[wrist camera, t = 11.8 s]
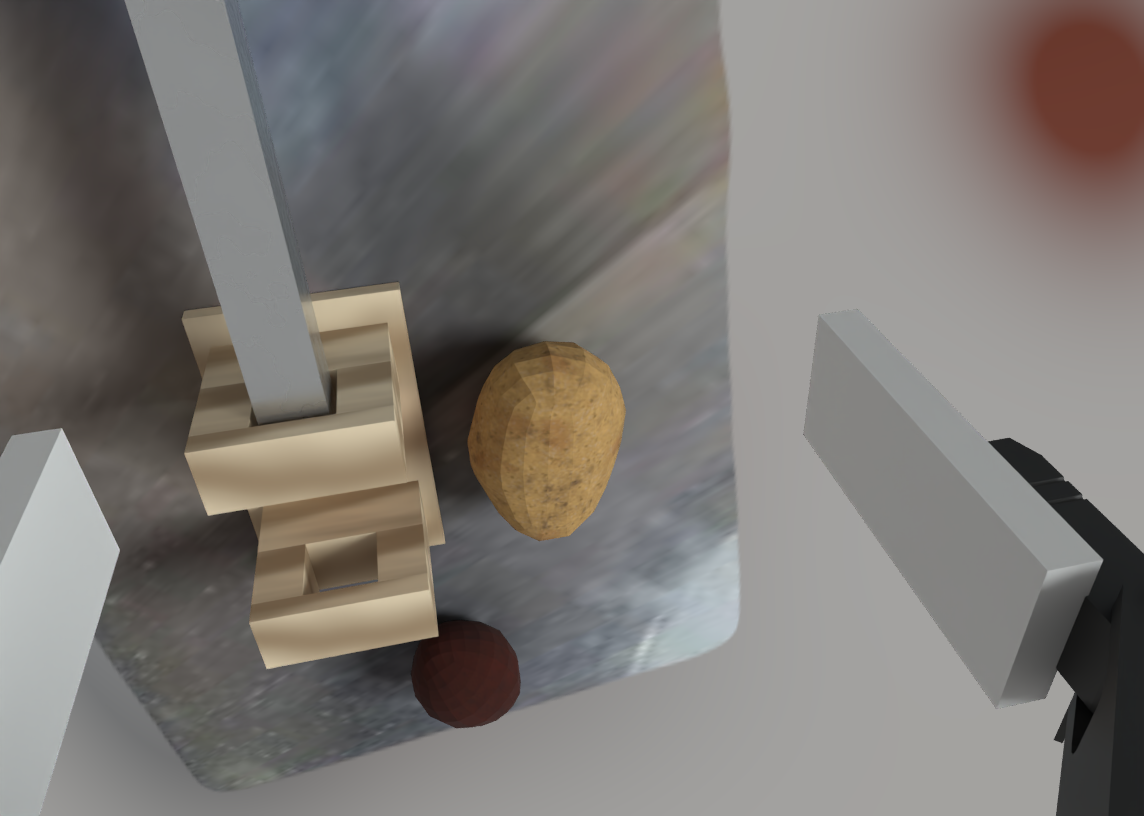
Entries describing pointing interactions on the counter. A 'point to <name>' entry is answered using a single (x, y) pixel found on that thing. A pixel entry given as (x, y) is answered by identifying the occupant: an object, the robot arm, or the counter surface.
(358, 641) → the bearing stand
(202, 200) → the shaft
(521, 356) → the potato
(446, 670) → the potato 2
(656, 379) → the counter surface
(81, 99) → the counter surface
